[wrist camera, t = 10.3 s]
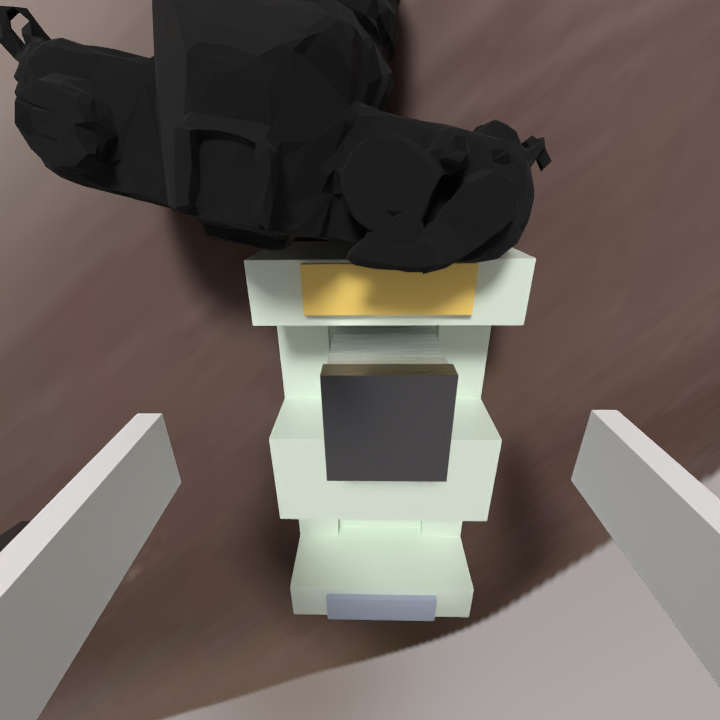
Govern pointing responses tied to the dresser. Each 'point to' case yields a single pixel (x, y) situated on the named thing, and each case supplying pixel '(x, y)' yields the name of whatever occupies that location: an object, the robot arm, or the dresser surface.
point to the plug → (387, 404)
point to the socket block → (381, 498)
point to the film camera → (274, 132)
